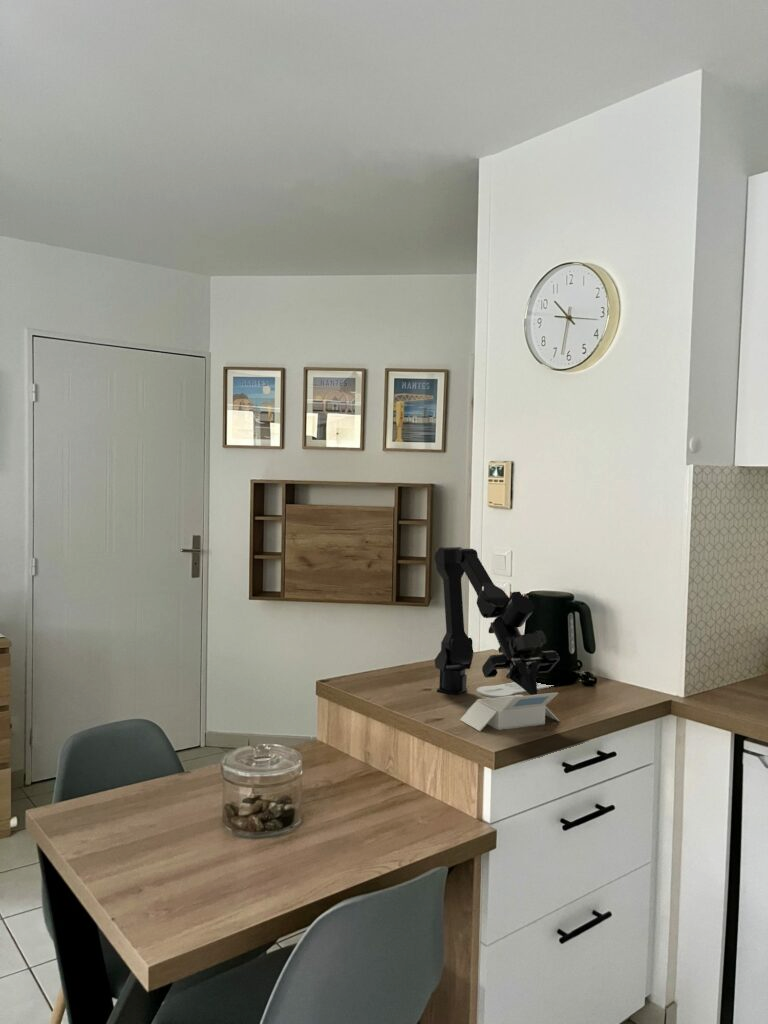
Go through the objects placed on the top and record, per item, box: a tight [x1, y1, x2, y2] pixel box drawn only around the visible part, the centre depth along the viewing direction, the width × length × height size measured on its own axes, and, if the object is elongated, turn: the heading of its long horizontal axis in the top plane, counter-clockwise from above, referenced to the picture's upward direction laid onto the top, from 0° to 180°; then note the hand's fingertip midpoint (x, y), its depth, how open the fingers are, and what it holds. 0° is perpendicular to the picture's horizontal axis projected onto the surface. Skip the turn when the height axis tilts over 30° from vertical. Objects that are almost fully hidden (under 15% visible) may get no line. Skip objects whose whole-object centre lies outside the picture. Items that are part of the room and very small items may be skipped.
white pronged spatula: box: [476, 681, 554, 698], centre depth 219 cm, size 28×1×10 cm
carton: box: [476, 694, 547, 731], centre depth 188 cm, size 10×13×4 cm
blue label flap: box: [502, 692, 559, 711], centre depth 180 cm, size 6×12×1 cm
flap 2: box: [545, 706, 560, 722], centre depth 191 cm, size 9×6×1 cm
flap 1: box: [460, 700, 497, 732], centre depth 184 cm, size 9×6×1 cm
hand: (535, 695), depth 179 cm, fingers closed
